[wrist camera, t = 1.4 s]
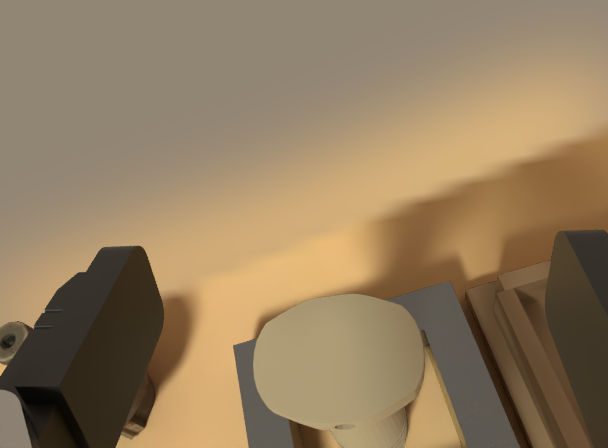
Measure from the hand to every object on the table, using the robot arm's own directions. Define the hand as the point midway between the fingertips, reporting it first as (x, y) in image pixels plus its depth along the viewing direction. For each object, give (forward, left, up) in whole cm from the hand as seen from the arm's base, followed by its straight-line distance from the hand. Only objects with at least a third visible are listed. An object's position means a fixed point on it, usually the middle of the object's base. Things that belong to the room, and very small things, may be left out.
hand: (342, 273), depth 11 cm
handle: (+1, -2, -25) cm, 26 cm away
